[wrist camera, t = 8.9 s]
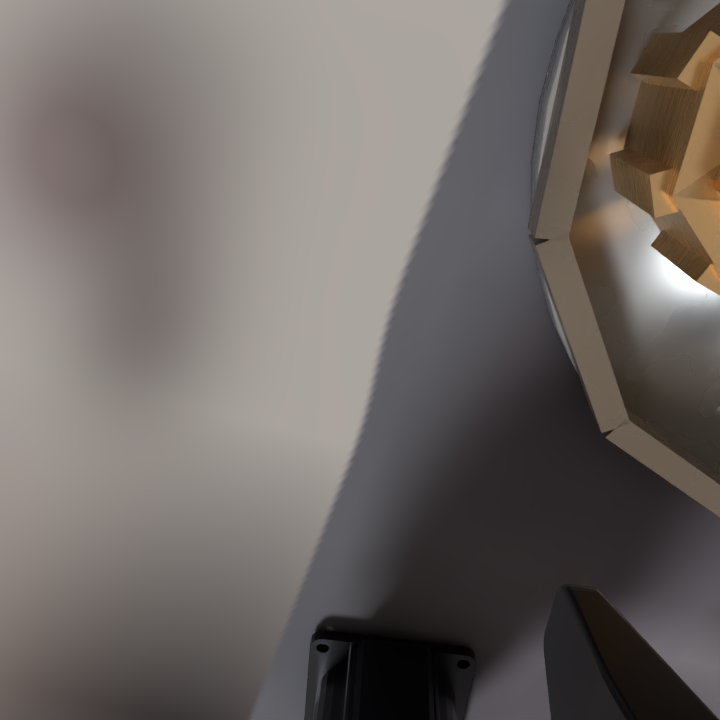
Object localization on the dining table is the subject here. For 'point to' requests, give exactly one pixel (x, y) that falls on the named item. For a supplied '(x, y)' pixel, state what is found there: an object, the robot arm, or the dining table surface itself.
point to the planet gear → (678, 147)
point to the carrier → (622, 254)
